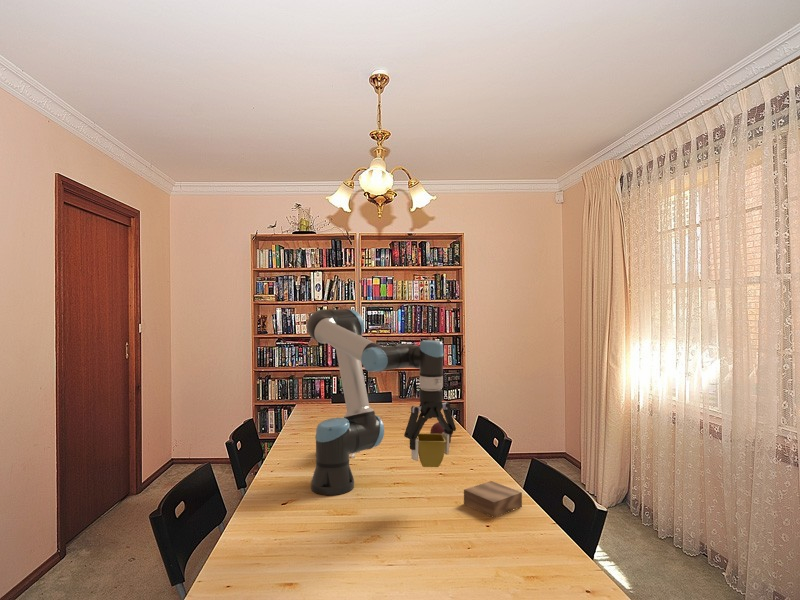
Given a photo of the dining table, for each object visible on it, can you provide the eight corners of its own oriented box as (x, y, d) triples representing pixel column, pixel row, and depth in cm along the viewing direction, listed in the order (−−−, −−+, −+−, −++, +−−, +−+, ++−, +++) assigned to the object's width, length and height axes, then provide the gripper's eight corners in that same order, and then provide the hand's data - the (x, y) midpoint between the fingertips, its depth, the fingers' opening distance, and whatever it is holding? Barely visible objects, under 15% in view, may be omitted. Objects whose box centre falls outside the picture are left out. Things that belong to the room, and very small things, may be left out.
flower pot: (442, 460, 165) (442, 433, 164) (445, 469, 156) (446, 441, 156) (415, 460, 164) (416, 433, 164) (417, 469, 156) (417, 441, 155)
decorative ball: (428, 446, 226) (428, 424, 227) (432, 440, 236) (432, 419, 236) (450, 447, 224) (450, 425, 224) (453, 441, 234) (453, 420, 234)
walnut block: (494, 518, 151) (494, 502, 151) (463, 505, 161) (463, 489, 161) (521, 508, 159) (521, 492, 159) (491, 495, 169) (491, 480, 169)
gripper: (406, 394, 150) (405, 466, 151) (467, 387, 163) (466, 453, 163) (393, 390, 157) (392, 459, 157) (453, 383, 169) (452, 447, 170)
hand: (430, 456), depth 160 cm, fingers closed on flower pot, 11 cm apart
